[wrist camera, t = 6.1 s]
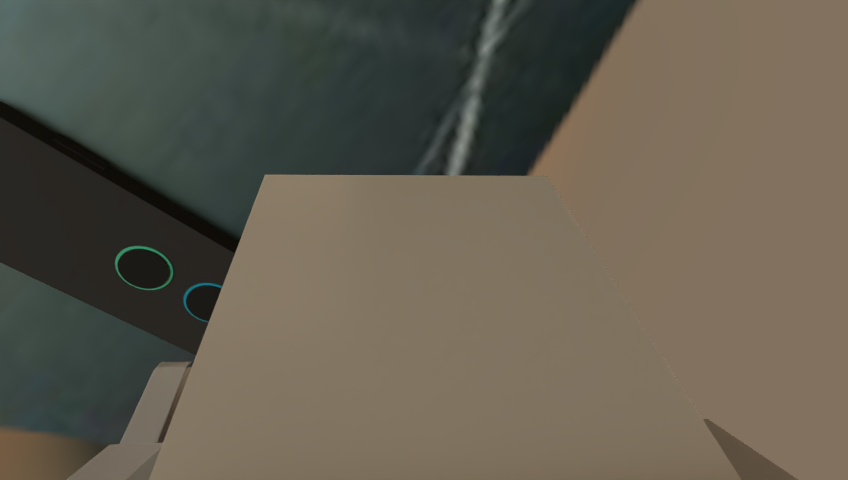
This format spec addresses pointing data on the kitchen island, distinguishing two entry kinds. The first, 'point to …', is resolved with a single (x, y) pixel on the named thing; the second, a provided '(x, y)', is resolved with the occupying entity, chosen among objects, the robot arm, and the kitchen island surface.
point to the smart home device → (106, 235)
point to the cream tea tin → (427, 345)
